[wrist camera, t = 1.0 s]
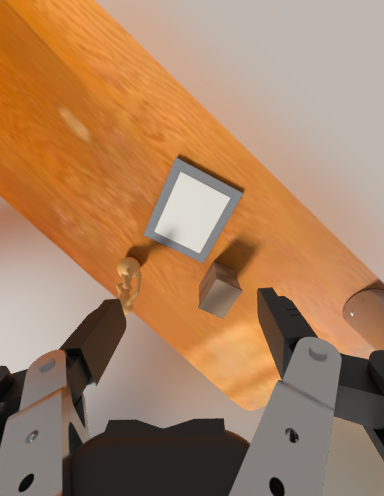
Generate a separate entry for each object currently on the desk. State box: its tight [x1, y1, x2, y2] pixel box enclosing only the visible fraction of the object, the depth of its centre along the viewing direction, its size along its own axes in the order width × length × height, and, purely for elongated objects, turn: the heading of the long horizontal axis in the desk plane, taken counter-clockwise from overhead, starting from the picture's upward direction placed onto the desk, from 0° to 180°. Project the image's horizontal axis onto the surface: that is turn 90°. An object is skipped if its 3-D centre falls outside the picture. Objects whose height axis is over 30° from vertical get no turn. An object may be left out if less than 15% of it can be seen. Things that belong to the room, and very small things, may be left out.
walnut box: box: [198, 261, 242, 319], centre depth 35 cm, size 5×6×7 cm
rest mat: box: [144, 158, 243, 263], centre depth 33 cm, size 12×14×1 cm
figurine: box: [116, 257, 141, 315], centre depth 32 cm, size 8×6×12 cm
